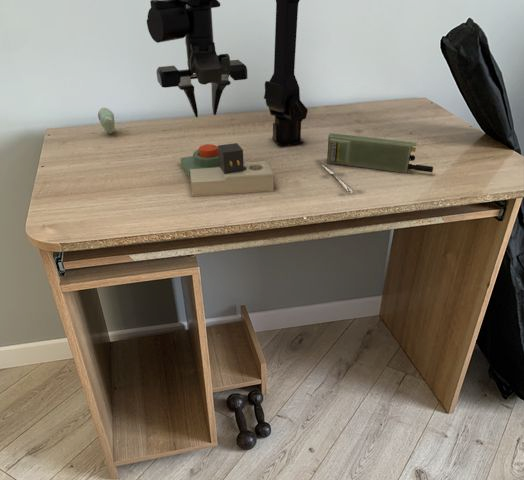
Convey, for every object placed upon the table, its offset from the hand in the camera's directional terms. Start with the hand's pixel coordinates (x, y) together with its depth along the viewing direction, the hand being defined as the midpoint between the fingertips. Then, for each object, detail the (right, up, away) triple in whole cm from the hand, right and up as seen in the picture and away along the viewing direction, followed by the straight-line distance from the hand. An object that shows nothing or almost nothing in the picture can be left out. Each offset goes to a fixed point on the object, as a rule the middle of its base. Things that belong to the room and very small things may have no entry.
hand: (205, 115), depth 114 cm
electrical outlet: (+6, -16, 0) cm, 17 cm away
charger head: (+6, -13, -3) cm, 15 cm away
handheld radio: (+40, -9, +7) cm, 42 cm away
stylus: (+29, -13, +4) cm, 32 cm away
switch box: (0, -9, +8) cm, 12 cm away
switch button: (0, -7, +6) cm, 9 cm away
